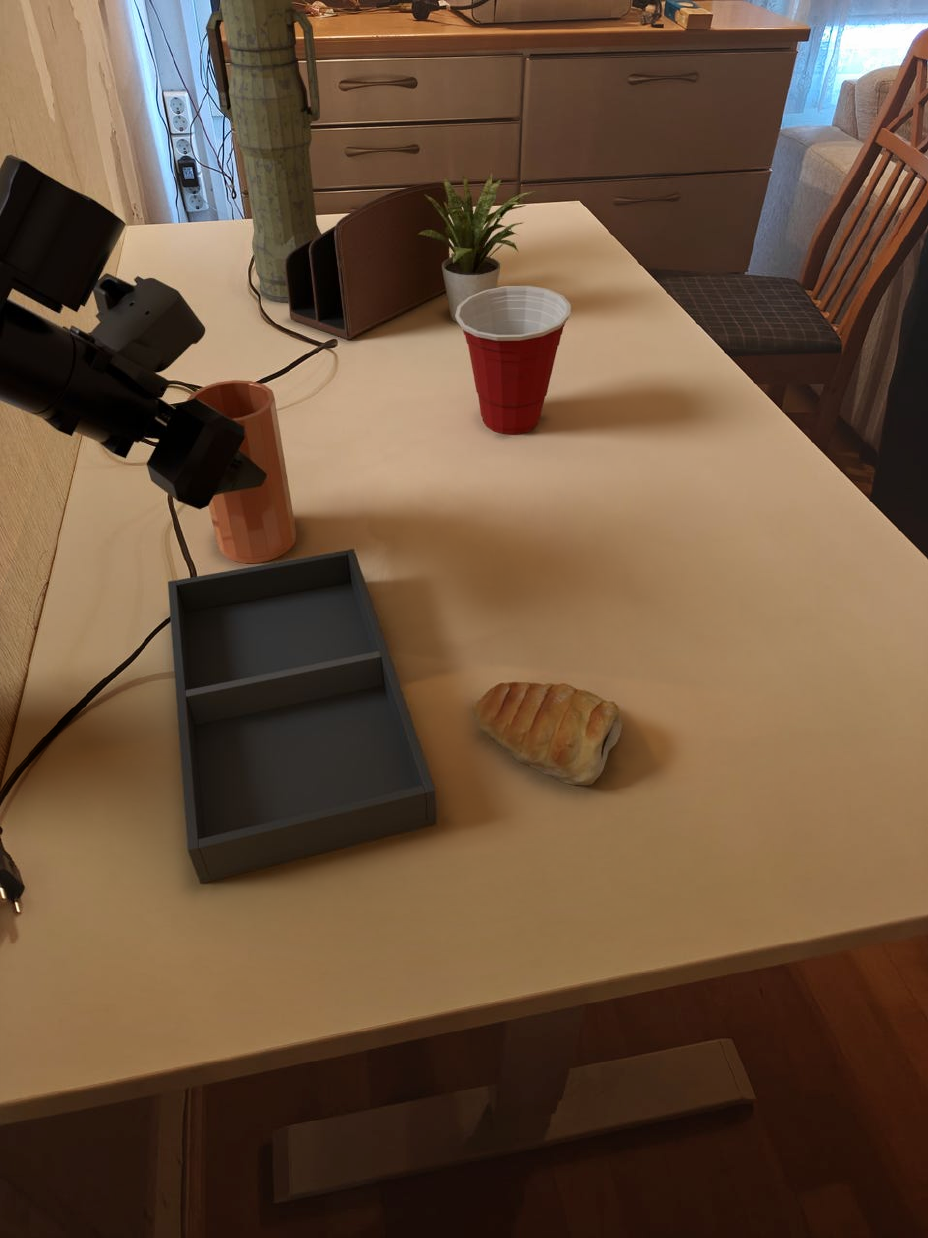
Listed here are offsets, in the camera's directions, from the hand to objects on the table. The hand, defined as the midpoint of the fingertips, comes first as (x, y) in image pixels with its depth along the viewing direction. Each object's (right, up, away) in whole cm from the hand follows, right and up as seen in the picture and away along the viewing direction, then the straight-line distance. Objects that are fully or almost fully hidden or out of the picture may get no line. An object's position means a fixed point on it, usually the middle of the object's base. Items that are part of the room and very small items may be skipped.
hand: (228, 456), depth 67 cm
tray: (+6, -19, -8) cm, 21 cm away
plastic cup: (+23, +7, +22) cm, 32 cm away
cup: (+1, -6, +6) cm, 9 cm away
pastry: (+24, -21, -10) cm, 33 cm away
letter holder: (+7, +27, +43) cm, 52 cm away
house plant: (+19, +24, +40) cm, 51 cm away
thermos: (-4, +31, +47) cm, 57 cm away
